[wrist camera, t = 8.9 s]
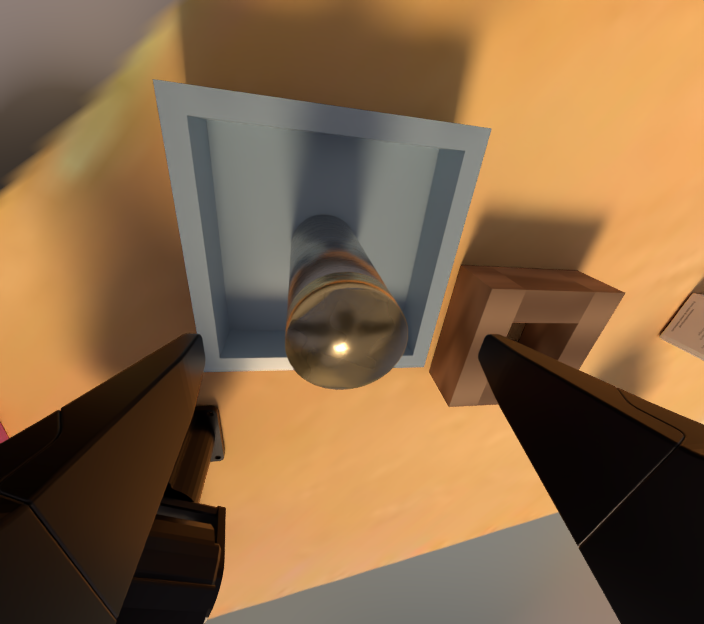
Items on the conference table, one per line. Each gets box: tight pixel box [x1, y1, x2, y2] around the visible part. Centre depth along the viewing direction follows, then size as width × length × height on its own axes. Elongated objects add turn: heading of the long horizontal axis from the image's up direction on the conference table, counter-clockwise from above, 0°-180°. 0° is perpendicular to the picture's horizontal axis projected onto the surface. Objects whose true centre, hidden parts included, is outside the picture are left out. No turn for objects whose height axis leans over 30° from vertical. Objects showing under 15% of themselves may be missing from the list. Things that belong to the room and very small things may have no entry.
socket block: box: [429, 265, 625, 407], centre depth 23 cm, size 10×10×4 cm
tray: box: [153, 79, 491, 372], centre depth 17 cm, size 14×14×4 cm
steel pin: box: [285, 214, 408, 390], centre depth 14 cm, size 4×4×10 cm
